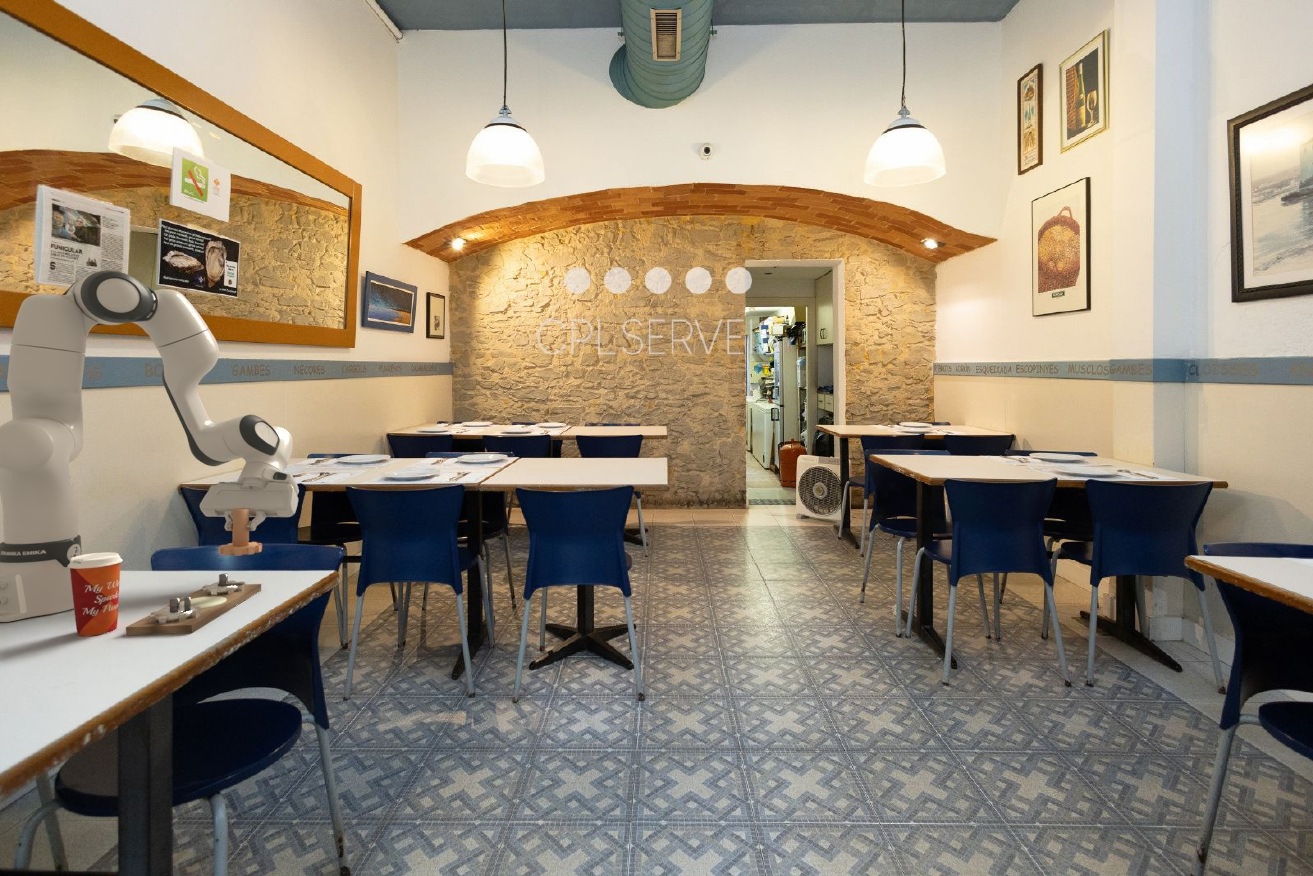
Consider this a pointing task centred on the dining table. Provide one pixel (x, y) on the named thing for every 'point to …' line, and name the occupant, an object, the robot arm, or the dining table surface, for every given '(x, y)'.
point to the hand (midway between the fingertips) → (239, 529)
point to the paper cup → (95, 592)
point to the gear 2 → (223, 586)
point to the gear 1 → (175, 612)
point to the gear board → (208, 612)
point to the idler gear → (240, 536)
